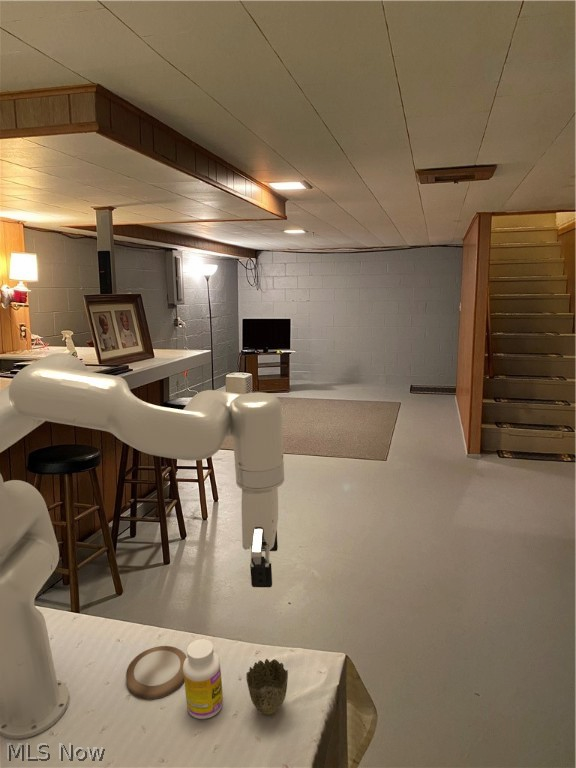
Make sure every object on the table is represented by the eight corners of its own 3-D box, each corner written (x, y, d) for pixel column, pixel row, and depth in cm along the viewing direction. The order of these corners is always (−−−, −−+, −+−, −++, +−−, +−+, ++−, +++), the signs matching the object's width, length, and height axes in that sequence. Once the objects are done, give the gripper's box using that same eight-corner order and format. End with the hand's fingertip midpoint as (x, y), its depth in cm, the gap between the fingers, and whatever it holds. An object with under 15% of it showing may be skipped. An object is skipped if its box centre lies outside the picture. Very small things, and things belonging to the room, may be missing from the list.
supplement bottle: (216, 723, 100) (211, 664, 96) (181, 718, 101) (175, 660, 97) (228, 693, 106) (223, 637, 102) (194, 688, 107) (189, 633, 104)
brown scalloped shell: (242, 702, 104) (239, 667, 102) (278, 687, 107) (276, 652, 105) (259, 734, 98) (256, 697, 95) (296, 716, 101) (295, 680, 98)
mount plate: (117, 698, 106) (116, 691, 105) (138, 651, 117) (137, 644, 117) (180, 700, 105) (179, 692, 104) (194, 652, 116) (194, 645, 116)
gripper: (243, 450, 96) (249, 538, 100) (226, 499, 79) (234, 602, 84) (287, 449, 95) (291, 538, 100) (279, 499, 78) (284, 602, 83)
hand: (265, 567), depth 92 cm, fingers open, 9 cm apart
